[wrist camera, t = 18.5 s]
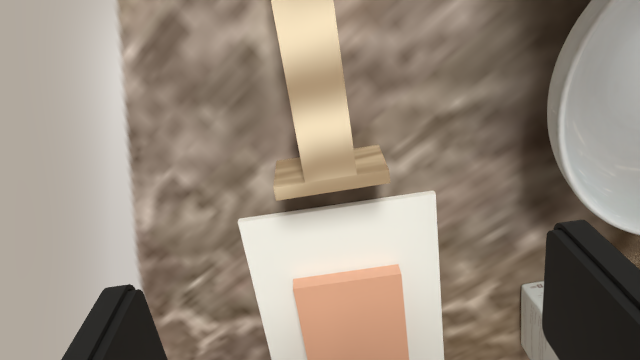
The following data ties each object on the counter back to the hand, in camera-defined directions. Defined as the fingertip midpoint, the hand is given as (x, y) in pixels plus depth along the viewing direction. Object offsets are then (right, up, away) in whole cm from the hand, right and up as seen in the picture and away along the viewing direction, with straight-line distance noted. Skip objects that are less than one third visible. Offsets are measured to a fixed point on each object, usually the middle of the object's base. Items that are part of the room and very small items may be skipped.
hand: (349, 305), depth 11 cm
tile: (+2, -5, +30) cm, 30 cm away
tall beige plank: (-1, +11, +24) cm, 26 cm away
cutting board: (+2, -7, +32) cm, 33 cm away
